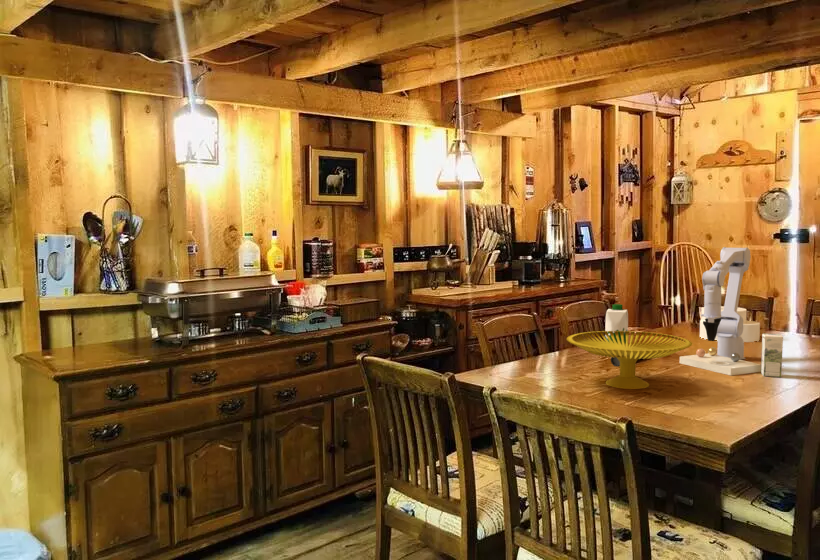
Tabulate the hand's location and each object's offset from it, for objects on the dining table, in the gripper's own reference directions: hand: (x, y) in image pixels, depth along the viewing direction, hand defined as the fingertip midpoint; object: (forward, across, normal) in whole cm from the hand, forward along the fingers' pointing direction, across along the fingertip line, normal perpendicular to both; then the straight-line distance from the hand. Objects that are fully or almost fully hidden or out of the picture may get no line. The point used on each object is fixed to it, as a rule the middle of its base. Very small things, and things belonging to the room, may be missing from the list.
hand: (711, 339), depth 260 cm
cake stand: (+10, +42, -23) cm, 49 cm away
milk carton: (+10, -11, -37) cm, 40 cm away
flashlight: (+11, +5, -29) cm, 31 cm away
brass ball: (+6, -8, 0) cm, 10 cm away
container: (+11, -68, +3) cm, 69 cm away
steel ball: (+6, +1, +8) cm, 10 cm away
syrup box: (+10, +9, +20) cm, 24 cm away
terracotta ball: (+6, -3, -4) cm, 8 cm away
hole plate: (+10, +1, +3) cm, 11 cm away
